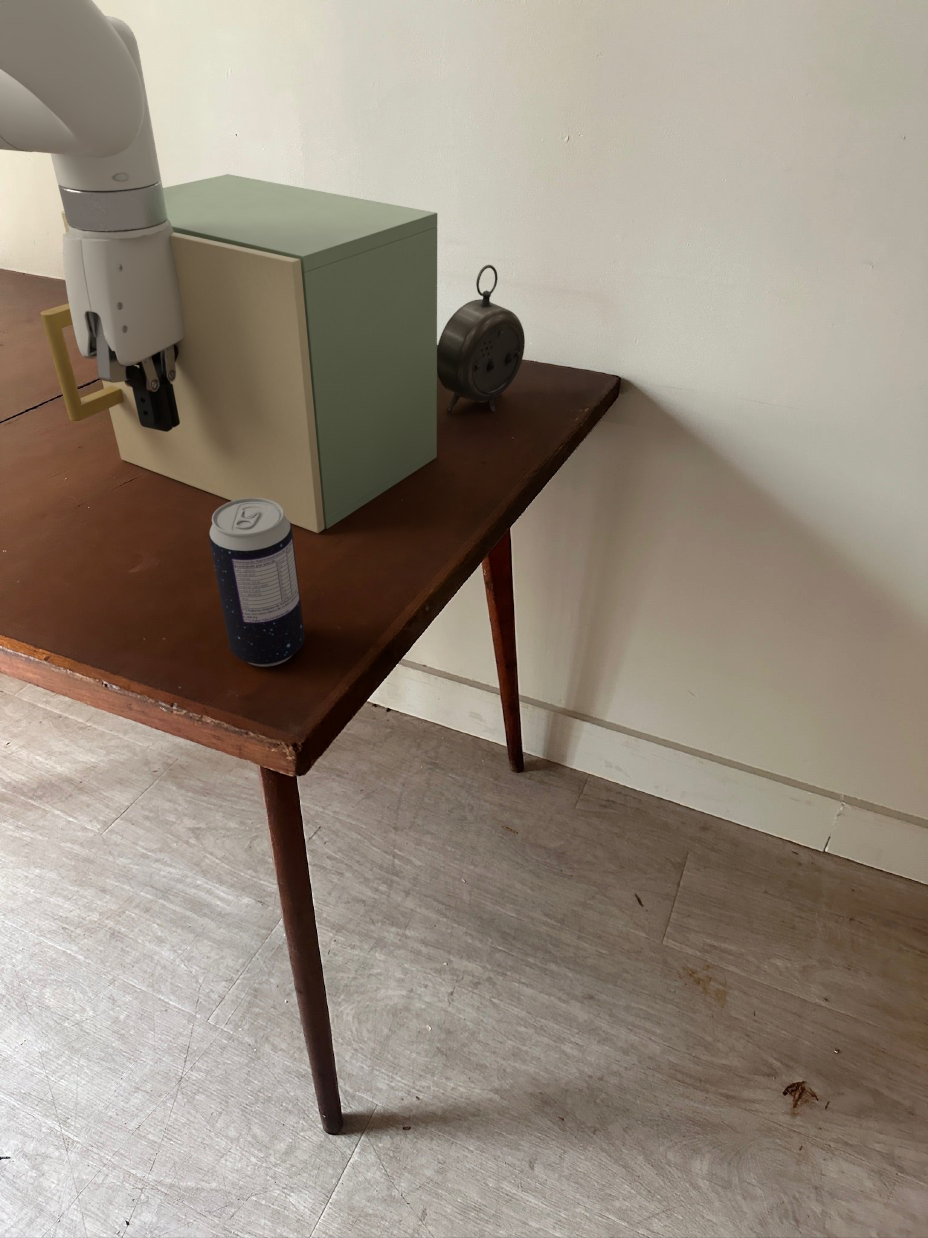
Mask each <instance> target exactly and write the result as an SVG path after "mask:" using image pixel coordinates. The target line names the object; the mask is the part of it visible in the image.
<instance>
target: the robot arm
mask: <svg viewBox="0 0 928 1238" xmlns="http://www.w3.org/2000/svg"><path fill="white" fill-rule="evenodd" d="M144 78H145V77H144V73H143V67H142V60H141V56H140V51H139V46H138V42H137V39H136V36H135V34H134V32H133V30H132V28H131V27H130V26H129V25H128V24H127V23H126V22H125V21H124V20H122V19H120V18H118V17H115V16H110V15H105V13H103V11H102V10H101V9H100V8H99V7H98V6H97V4H96V3H95V2H94V0H0V150H3V151H13V152H26V153H41V154H50V157H51V161H52V166H53V169H54V173H55V177H56V182H57V184H58V185H57V186H58V191H59V193H60V194H59V195H60V198H61V202H62V203H61V204H62V207H63V211H64V212H65V216H66V220H67V223H68V228H69V232H67V233H66V232H65V233H63V234H62V258H63V271H64V279H65V281H64V282H65V288H66V296H67V300H68V303H69V307H70V312H71V317H72V322H73V324H72V326H73V332H74V336H75V339H76V343H77V344H76V345H77V347H78V350H79V352H80V355H81V356H82V357H83V358H85V359H88V360H89V359H90V360H93V359H96V362H97V363H96V366H97V377H98V379H99V380H100V381H107V382H112V383H116V382H123V381H124V382H125V384H126V385H127V386H128V387H132V389H133V394H134V398H135V403H136V407H137V412H138V417H139V421H140V424H141V425H142V426H143V427H146V428H151V429H155V430H160V431H165V432H168V431H170V430H171V429H172V428H173V427H176V426H178V425H179V424H180V420H179V415H178V410H177V404H176V399H175V394H174V389H173V384H171V382H173V381H174V380H175V378H176V366H175V362H176V359H177V356H178V348H177V346H176V345H174V344H175V343H177V342H179V341H181V340H182V339H184V338H185V331H184V321H183V312H182V305H181V298H180V292H179V286H178V280H177V274H176V268H175V263H174V258H173V252H172V247H171V242H170V237H169V235H170V234H172V233H173V232H174V231H173V228H172V226H171V223H170V220H169V219H168V217H167V211H166V205H165V199H164V193H163V188H164V187H163V182H162V177H161V171H160V165H159V160H158V153H157V148H156V143H155V137H154V136H155V135H154V131H153V124H152V118H151V113H150V112H151V111H150V108H149V101H148V96H147V90H146V85H145V79H144ZM134 365H138V366H139V368H138V367H137V366H134Z"/></svg>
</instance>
